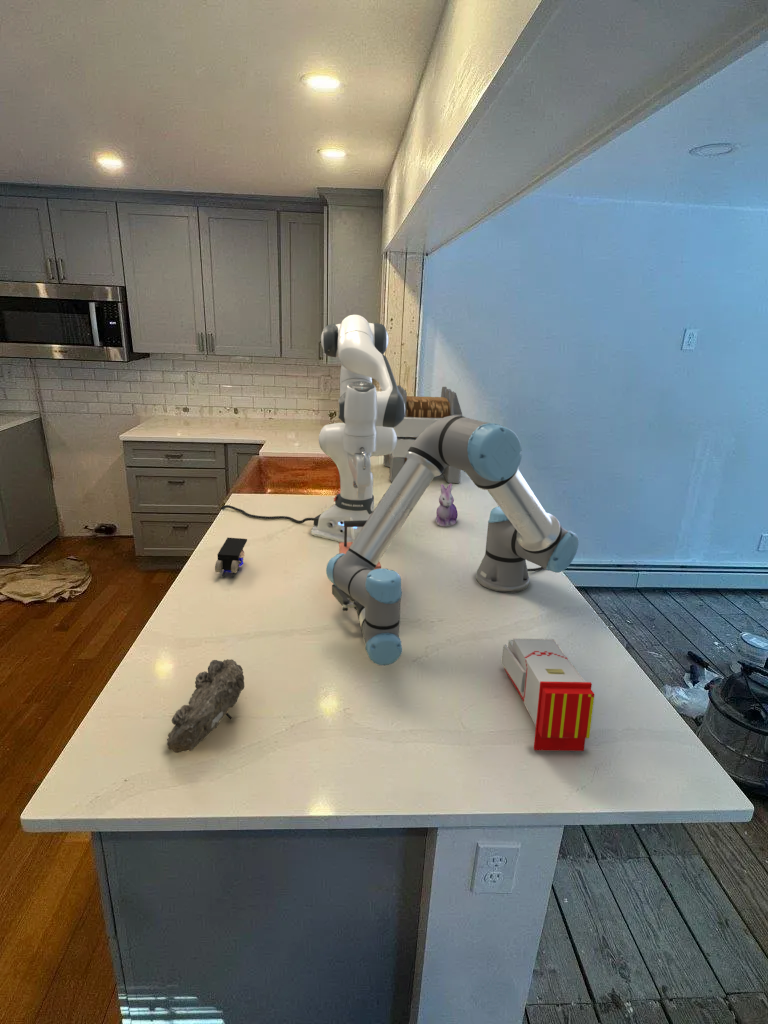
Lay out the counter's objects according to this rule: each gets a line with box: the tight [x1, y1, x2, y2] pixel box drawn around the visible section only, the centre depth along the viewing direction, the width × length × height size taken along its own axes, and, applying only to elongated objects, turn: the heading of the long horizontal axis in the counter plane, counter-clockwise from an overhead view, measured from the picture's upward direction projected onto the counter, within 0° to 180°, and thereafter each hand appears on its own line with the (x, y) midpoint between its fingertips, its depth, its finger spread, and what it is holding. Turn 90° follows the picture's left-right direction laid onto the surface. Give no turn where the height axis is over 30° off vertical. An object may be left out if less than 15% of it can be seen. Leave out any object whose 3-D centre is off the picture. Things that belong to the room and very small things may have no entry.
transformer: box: [383, 384, 463, 484], centre depth 268 cm, size 34×33×41 cm
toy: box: [500, 637, 595, 752], centre depth 114 cm, size 12×13×30 cm
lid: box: [338, 520, 382, 570], centre depth 157 cm, size 17×10×9 cm, turn 10°
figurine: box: [434, 483, 459, 527], centre depth 210 cm, size 9×10×15 cm
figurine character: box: [214, 537, 248, 578], centre depth 166 cm, size 7×8×15 cm
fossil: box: [166, 658, 245, 754], centre depth 106 cm, size 22×10×15 cm
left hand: (358, 492), depth 157 cm, fingers open, 8 cm apart
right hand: (361, 574), depth 154 cm, fingers open, 10 cm apart
